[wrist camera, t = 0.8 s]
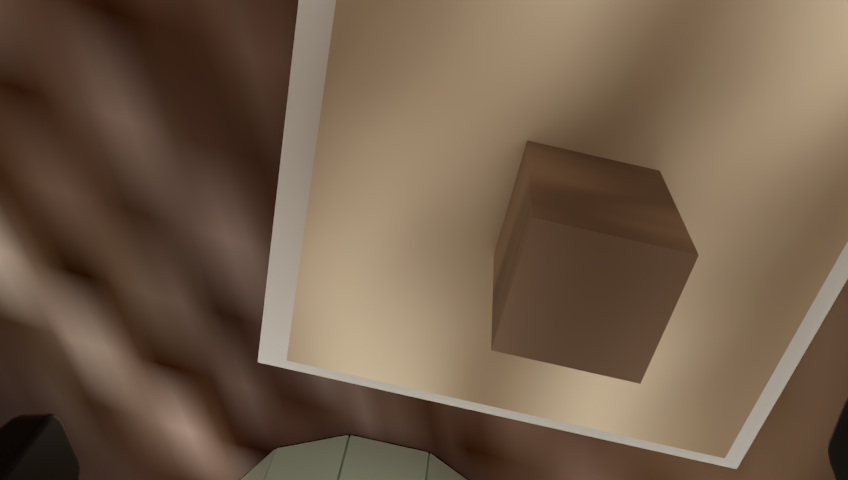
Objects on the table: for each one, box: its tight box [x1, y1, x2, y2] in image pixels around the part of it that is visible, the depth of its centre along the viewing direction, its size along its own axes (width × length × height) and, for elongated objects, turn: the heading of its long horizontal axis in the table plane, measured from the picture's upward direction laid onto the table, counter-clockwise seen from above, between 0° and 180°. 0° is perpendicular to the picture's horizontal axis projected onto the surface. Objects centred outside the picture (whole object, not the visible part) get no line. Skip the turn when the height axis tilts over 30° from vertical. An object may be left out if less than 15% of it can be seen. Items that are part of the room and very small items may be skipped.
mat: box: [258, 0, 848, 469], centre depth 19 cm, size 15×15×1 cm
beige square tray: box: [287, 0, 848, 458], centre depth 17 cm, size 13×13×5 cm
